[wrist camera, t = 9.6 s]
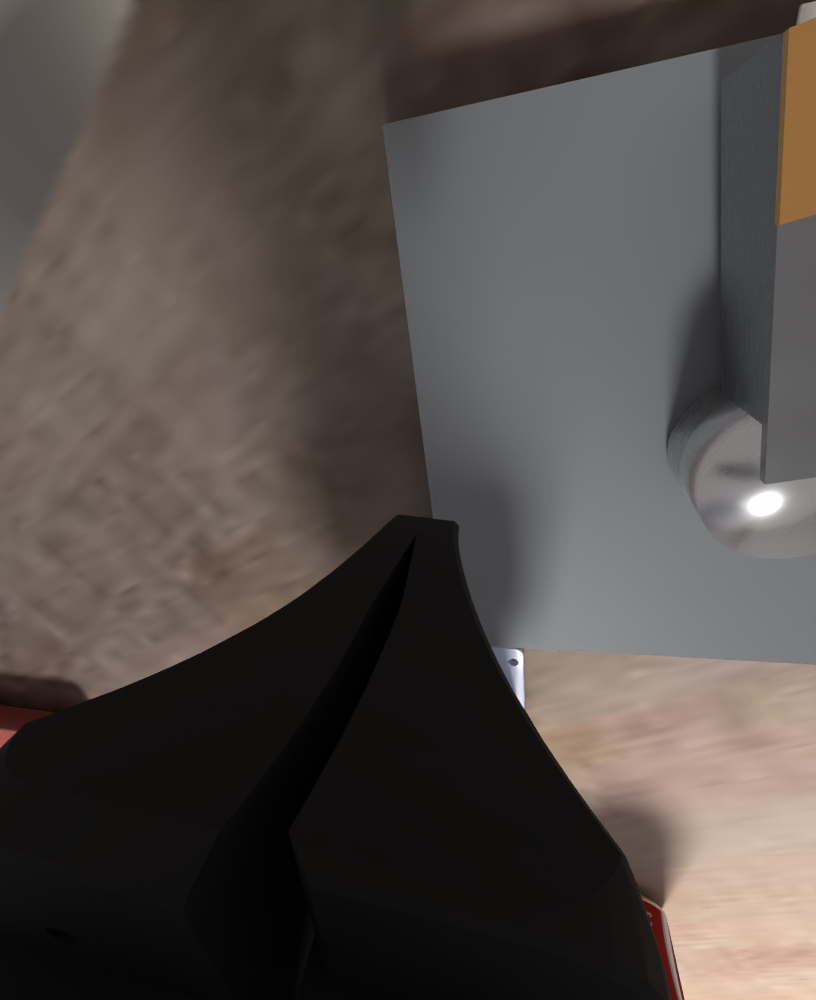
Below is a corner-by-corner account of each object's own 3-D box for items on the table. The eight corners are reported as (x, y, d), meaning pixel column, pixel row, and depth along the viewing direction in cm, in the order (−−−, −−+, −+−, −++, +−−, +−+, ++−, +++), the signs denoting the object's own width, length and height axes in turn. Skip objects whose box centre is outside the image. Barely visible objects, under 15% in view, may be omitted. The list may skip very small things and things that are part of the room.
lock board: (972, 644, 18) (1009, 677, 17) (452, 621, 23) (448, 645, 22) (1445, -125, 9) (1615, -190, 7) (392, 118, 14) (378, 105, 12)
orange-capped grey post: (871, 25, 10) (1034, -71, 7) (820, 491, 15) (901, 559, 12) (648, 111, 11) (698, 64, 8) (670, 512, 16) (706, 577, 13)
